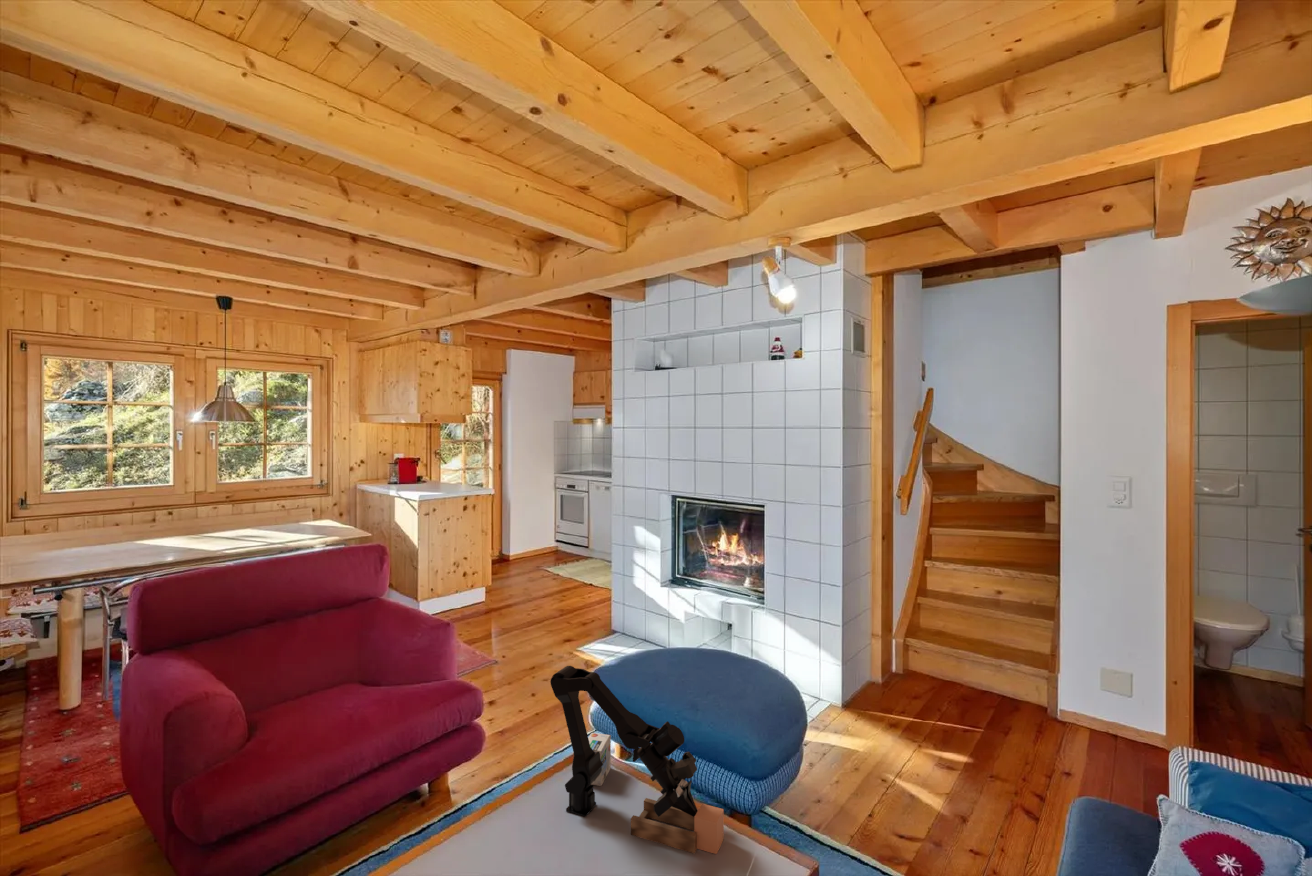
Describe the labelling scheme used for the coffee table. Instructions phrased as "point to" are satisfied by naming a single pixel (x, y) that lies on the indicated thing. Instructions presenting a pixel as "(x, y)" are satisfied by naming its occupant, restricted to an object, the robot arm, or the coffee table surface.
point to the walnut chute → (665, 827)
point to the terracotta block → (709, 828)
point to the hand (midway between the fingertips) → (697, 816)
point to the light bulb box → (601, 754)
